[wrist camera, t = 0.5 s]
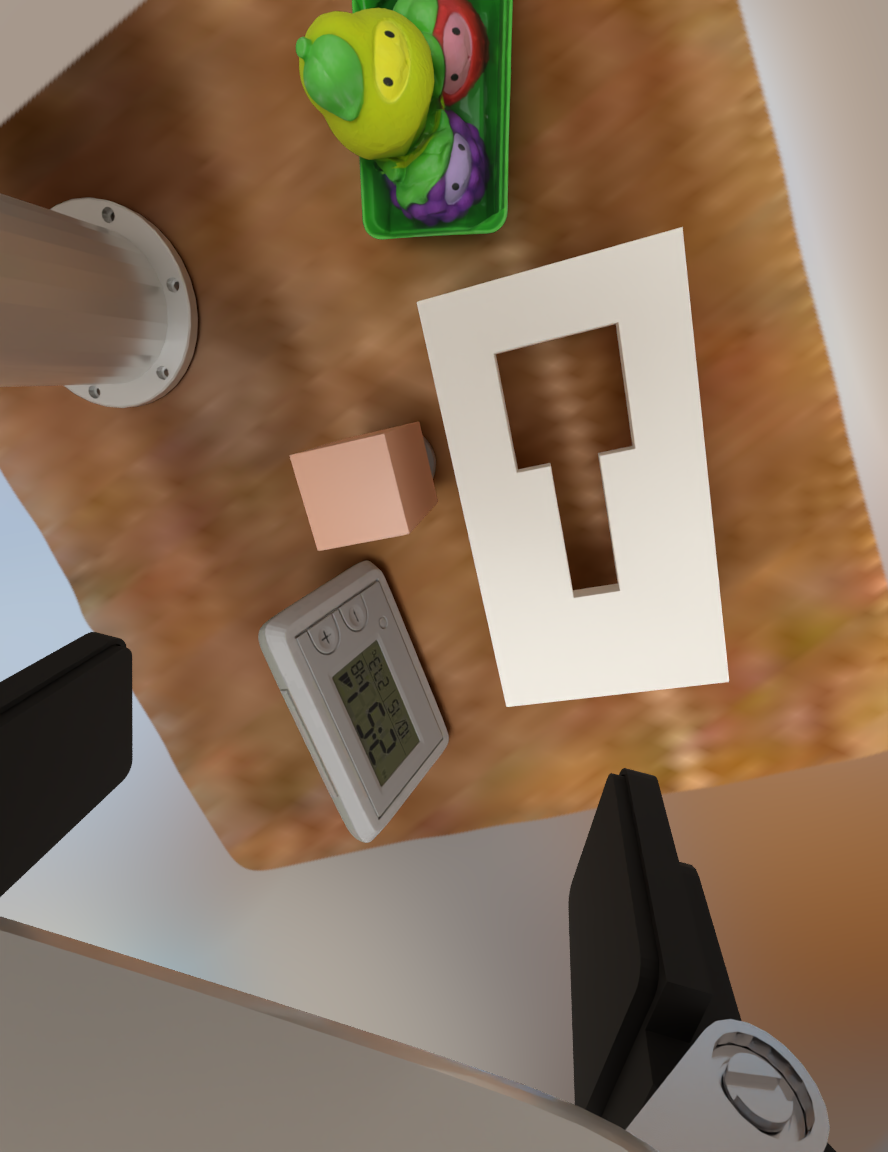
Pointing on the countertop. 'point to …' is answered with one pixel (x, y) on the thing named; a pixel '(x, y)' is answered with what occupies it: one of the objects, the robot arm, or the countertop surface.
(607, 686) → the keyhole board
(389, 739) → the digital clock
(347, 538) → the peg
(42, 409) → the countertop surface
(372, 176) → the fruit basket
